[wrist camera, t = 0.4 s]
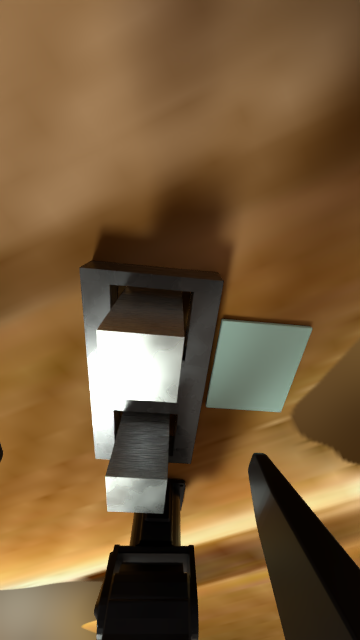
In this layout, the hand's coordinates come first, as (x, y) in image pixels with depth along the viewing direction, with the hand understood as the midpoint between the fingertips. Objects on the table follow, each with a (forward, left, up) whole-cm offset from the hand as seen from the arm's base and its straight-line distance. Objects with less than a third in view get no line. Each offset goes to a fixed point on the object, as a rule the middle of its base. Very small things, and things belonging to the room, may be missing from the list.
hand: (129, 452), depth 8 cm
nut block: (0, 0, -13) cm, 13 cm away
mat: (-5, -10, -13) cm, 17 cm away
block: (-12, 0, -13) cm, 18 cm away
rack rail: (-6, 0, -13) cm, 14 cm away
